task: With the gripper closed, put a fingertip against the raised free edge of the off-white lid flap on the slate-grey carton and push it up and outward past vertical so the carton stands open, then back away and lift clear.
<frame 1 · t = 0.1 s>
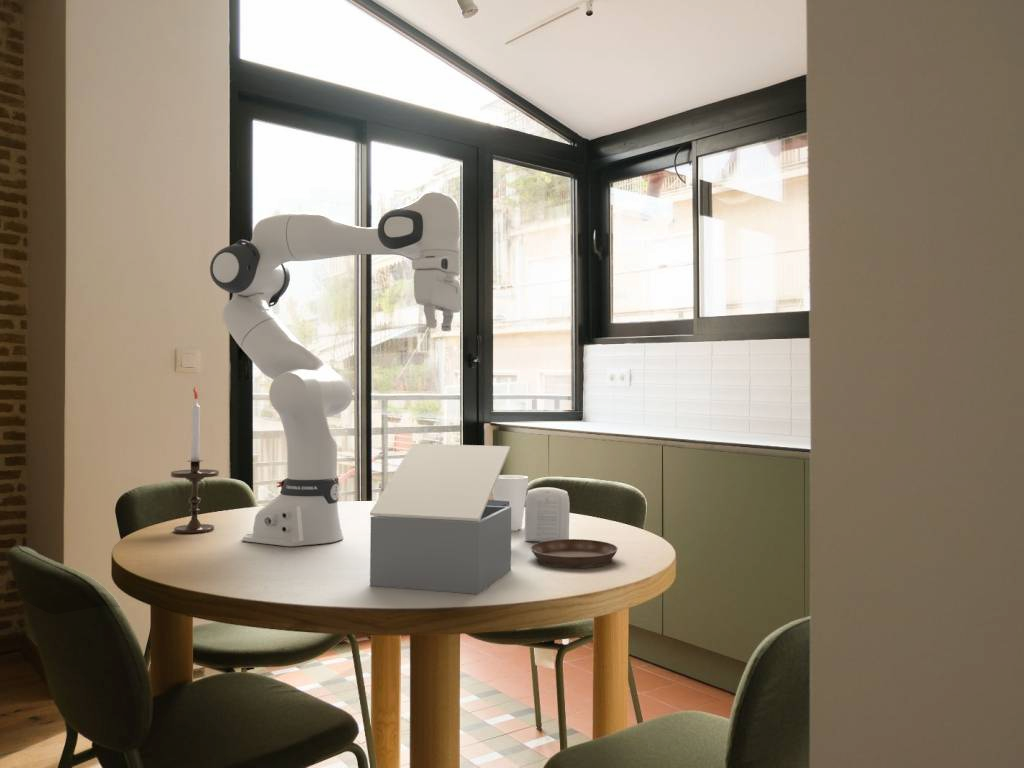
hand: (439, 329, 174), 48 cm above the table, fingers open, 8 cm apart
lid flap: (443, 479, 145), point 18 cm above the table, hinge at 30.0°
plant saucer: (573, 562, 161), on the table
candlestick: (194, 531, 192), on the table
foam cup: (509, 529, 199), on the table
carton: (443, 577, 145), on the table
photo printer: (546, 542, 182), on the table
small box: (490, 552, 170), on the table
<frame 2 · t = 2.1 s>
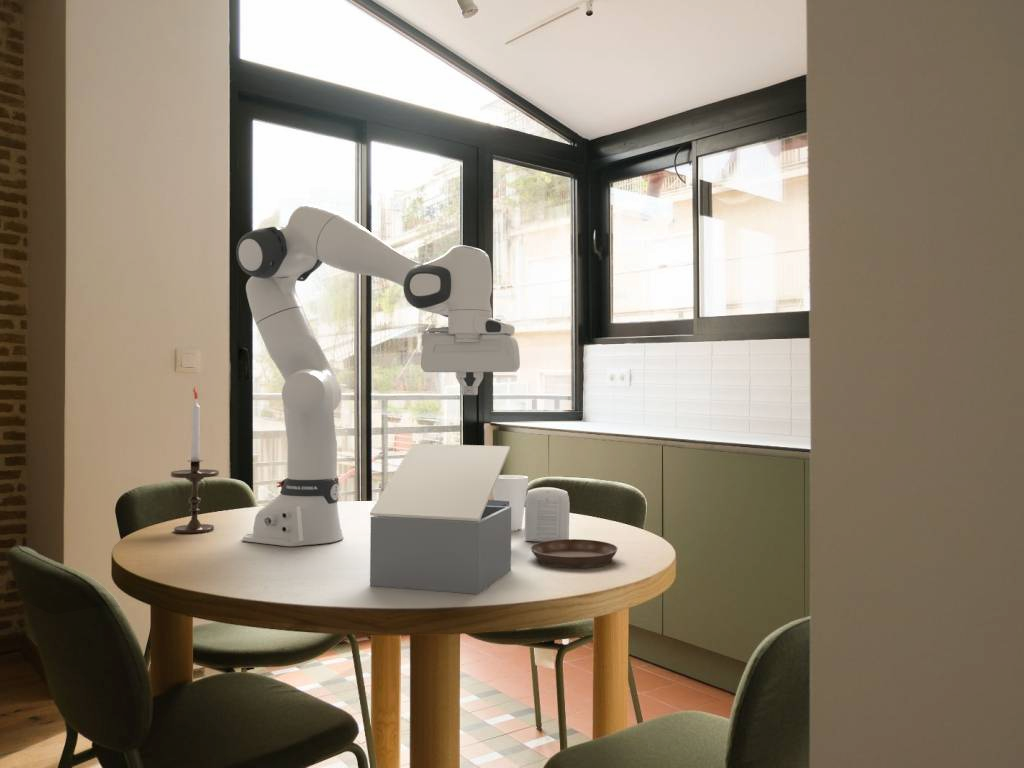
hand: (469, 395, 159), 33 cm above the table, fingers closed
nothing on the table moved.
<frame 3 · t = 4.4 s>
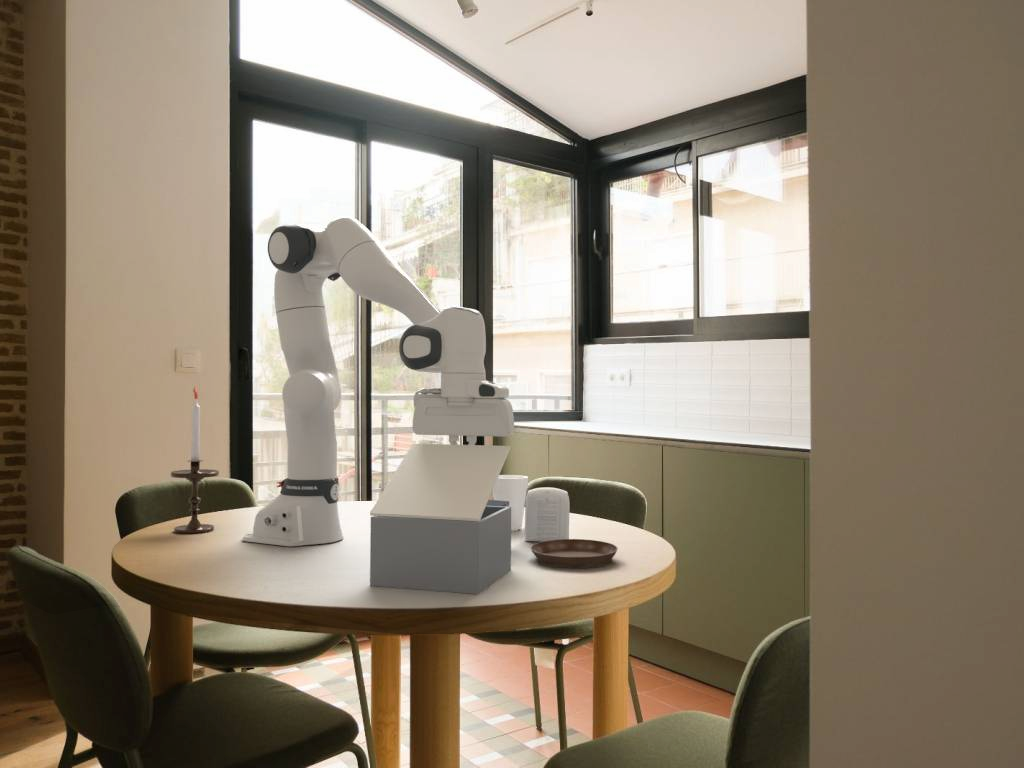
hand: (462, 459, 155), 21 cm above the table, fingers closed, pressing on lid flap
lid flap: (443, 479, 145), point 18 cm above the table, hinge at 30.1°, touching gripper
everything else where it was.
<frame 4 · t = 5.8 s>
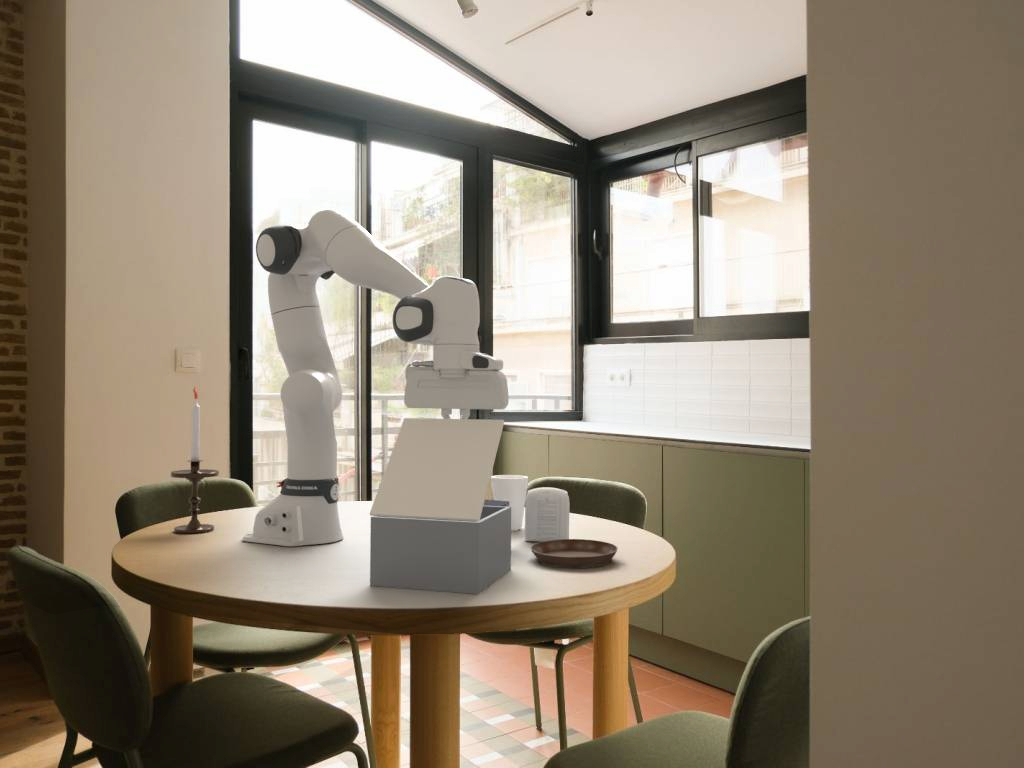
hand: (455, 433, 151), 26 cm above the table, fingers closed, pressing on lid flap
lid flap: (439, 466, 143), point 21 cm above the table, hinge at 47.8°, touching gripper
everything else where it was.
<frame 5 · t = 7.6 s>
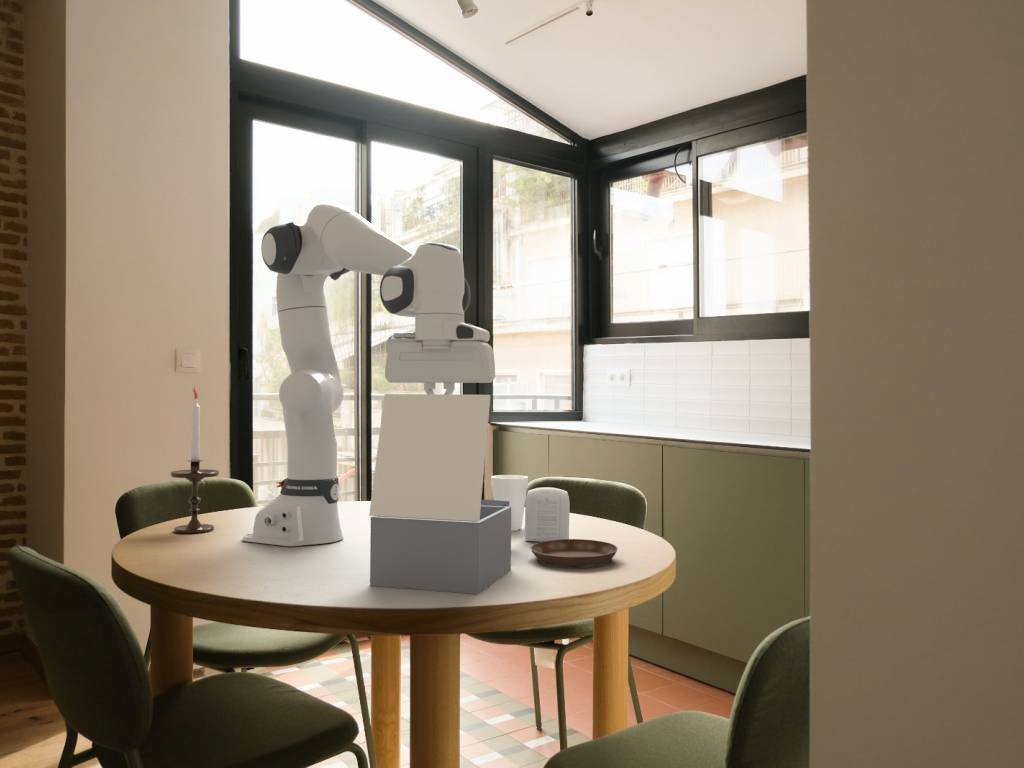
hand: (439, 408, 143), 31 cm above the table, fingers closed, pressing on lid flap
lid flap: (430, 455, 139), point 23 cm above the table, hinge at 74.5°, touching gripper
everything else where it was.
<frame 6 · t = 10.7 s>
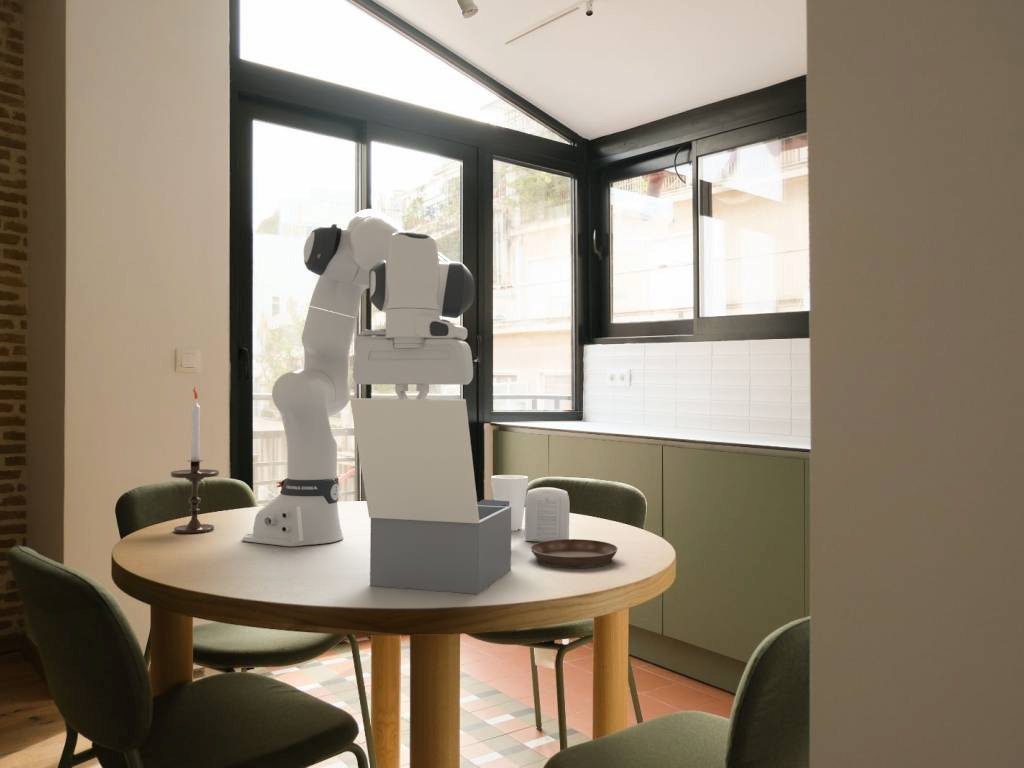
hand: (412, 412, 130), 31 cm above the table, fingers closed, pressing on lid flap
lid flap: (415, 461, 132), point 22 cm above the table, hinge at 110.2°, touching gripper
everything else where it was.
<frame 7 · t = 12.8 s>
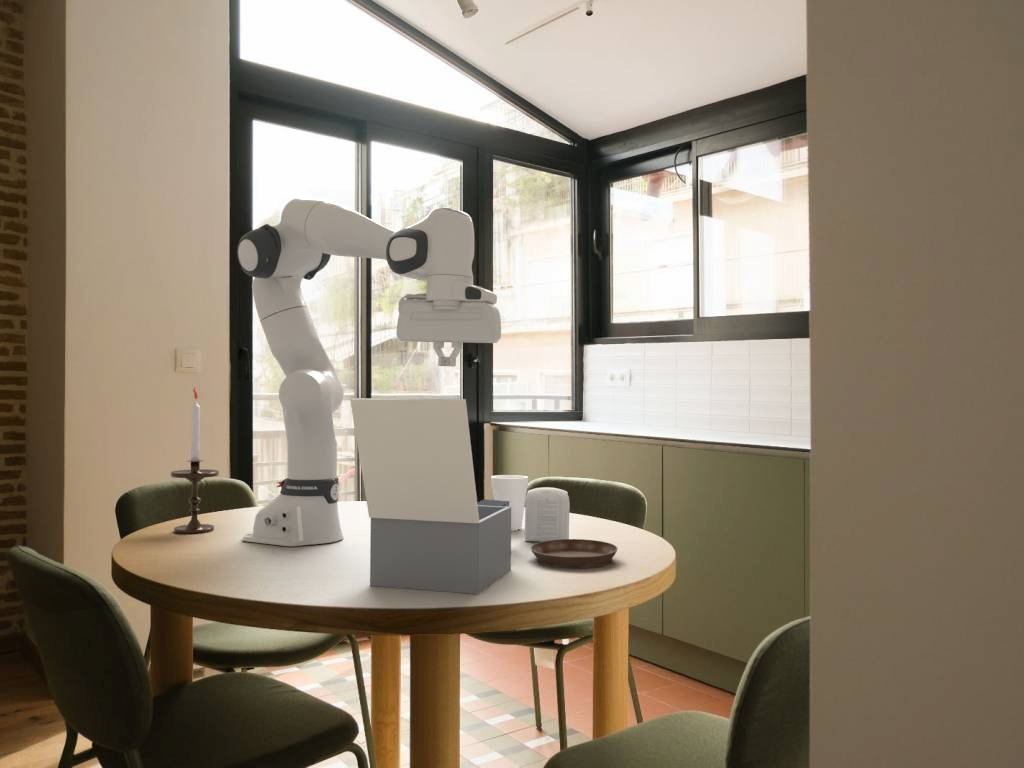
hand: (447, 366, 150), 39 cm above the table, fingers closed
lid flap: (415, 461, 132), point 22 cm above the table, hinge at 110.2°
everything else where it was.
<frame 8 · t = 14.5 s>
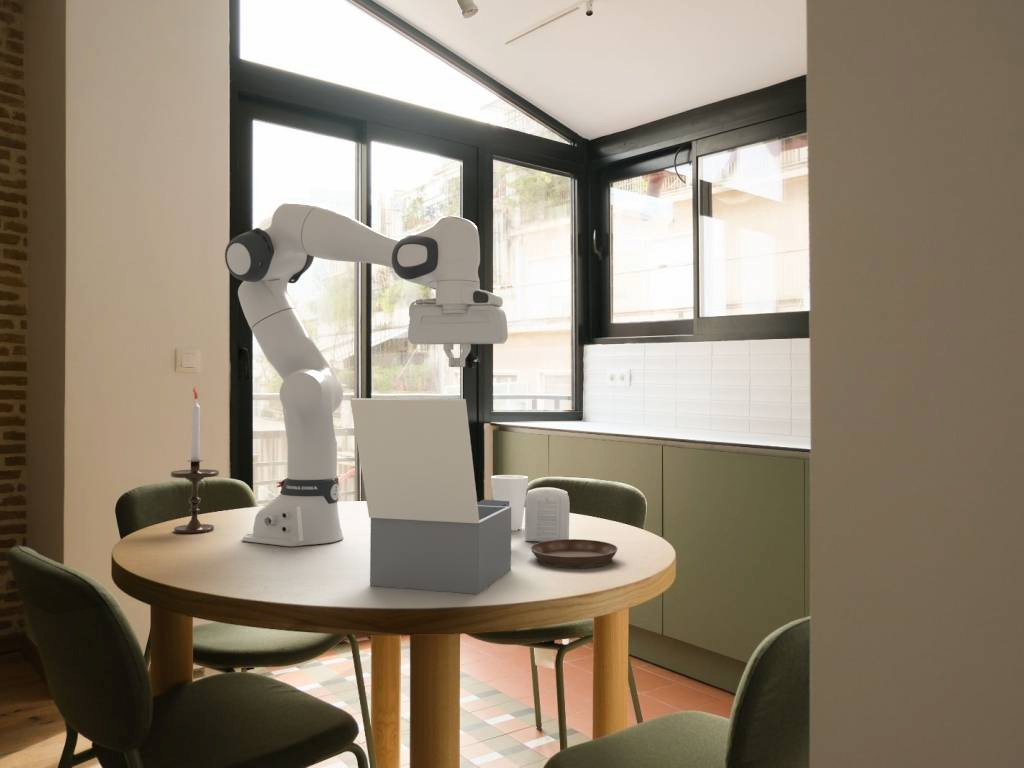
hand: (456, 366, 158), 39 cm above the table, fingers closed
nothing on the table moved.
at the end: lid flap at +110° (first picture: +30°); the gripper is holding nothing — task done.
